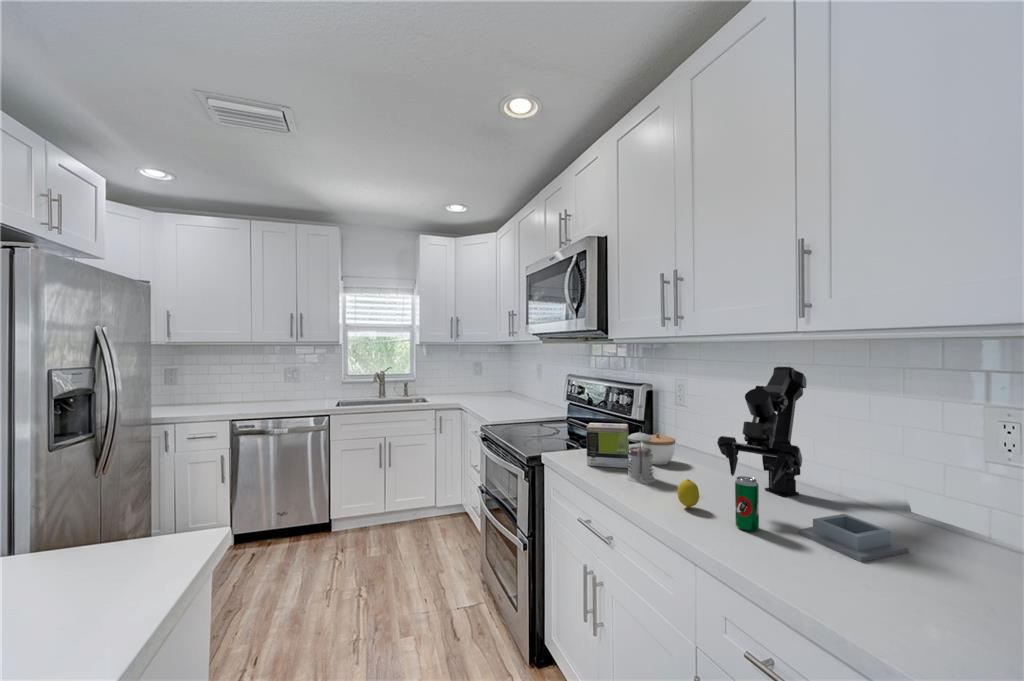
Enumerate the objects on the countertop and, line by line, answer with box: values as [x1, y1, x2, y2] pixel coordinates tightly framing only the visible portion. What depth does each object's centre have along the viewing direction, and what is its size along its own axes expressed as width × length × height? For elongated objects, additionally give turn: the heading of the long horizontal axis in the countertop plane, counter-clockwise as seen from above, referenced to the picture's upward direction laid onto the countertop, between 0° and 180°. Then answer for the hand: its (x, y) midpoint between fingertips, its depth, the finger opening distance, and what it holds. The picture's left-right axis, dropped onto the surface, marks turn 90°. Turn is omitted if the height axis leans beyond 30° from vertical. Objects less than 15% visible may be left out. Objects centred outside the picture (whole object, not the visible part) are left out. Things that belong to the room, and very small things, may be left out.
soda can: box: [734, 475, 760, 533], centre depth 105 cm, size 5×5×12 cm
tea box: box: [585, 422, 630, 469], centre depth 162 cm, size 15×10×15 cm
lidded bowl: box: [641, 432, 676, 466], centre depth 164 cm, size 13×13×11 cm
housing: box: [797, 513, 910, 563], centre depth 97 cm, size 14×14×4 cm
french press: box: [624, 403, 657, 484], centre depth 144 cm, size 10×12×25 cm
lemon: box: [676, 478, 700, 509], centre depth 118 cm, size 6×6×8 cm
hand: (751, 478), depth 108 cm, fingers open, 9 cm apart
